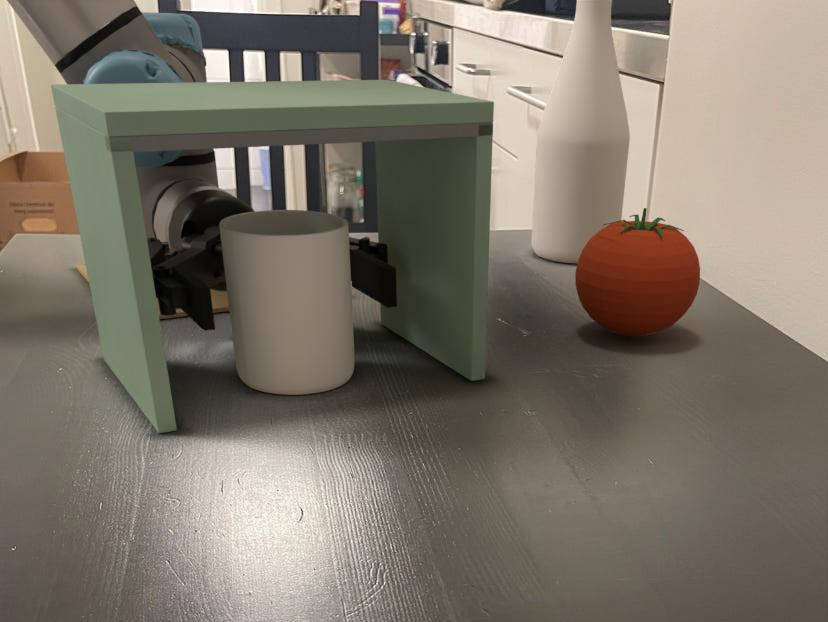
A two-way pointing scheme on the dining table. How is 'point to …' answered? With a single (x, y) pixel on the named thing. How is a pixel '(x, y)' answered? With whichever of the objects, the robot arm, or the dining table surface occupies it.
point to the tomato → (637, 276)
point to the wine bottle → (581, 141)
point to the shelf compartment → (279, 126)
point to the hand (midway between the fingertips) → (303, 298)
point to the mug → (289, 299)
